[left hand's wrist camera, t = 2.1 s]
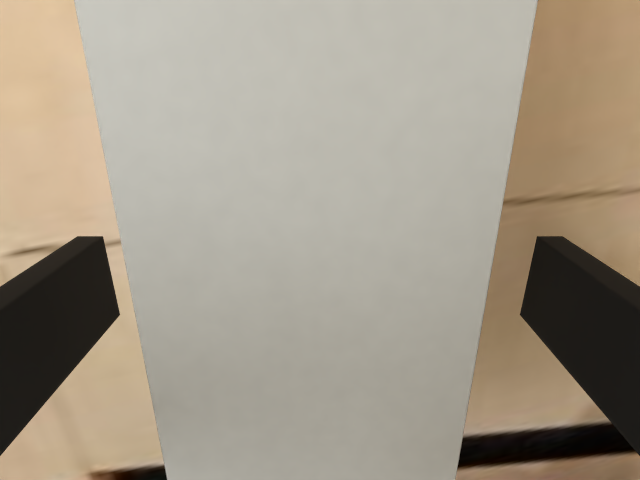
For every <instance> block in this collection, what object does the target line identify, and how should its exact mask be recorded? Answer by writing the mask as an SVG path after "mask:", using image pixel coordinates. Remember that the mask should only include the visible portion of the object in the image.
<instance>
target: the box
mask: <svg viewBox="0 0 640 480" xmlns="http://www.w3.org/2000/svg"><path fill="white" fill-rule="evenodd" d="M74 2H75V7H76V12H77V17H78V23H79V28H80V33H81V38H82V43H83V48H84V53H85V59H86V64H87V69H88V74H89V79H90V84H91V89H92V95H93V100H94V105H95V110H96V115H97V120H98V125H99V131H100V136H101V141H102V146H103V151H104V156H105V161H106V167H107V172H108V177H109V182H110V187H111V192H112V197H113V203H114V208H115V213H116V218H117V223H118V228H119V233H120V239H121V244H122V249H123V254H124V259H125V264H126V269H127V275H128V280H129V285H130V290H131V295H132V300H133V305H134V311H135V316H136V321H137V326H138V331H139V336H140V341H141V347H142V352H143V357H144V362H145V367H146V372H147V377H148V383H149V388H150V393H151V398H152V403H153V408H154V413H155V418H156V424H157V429H158V434H159V439H160V444H161V449H162V454H163V460H164V465H165V470H166V475H167V480H455V478H456V473H457V467H458V461H459V455H460V449H461V444H462V438H463V432H464V426H465V420H466V415H467V409H468V403H469V397H470V391H471V386H472V380H473V374H474V368H475V362H476V357H477V351H478V345H479V339H480V333H481V328H482V322H483V316H484V310H485V304H486V299H487V293H488V287H489V281H490V275H491V270H492V264H493V258H494V252H495V246H496V241H497V235H498V229H499V223H500V217H501V212H502V206H503V200H504V194H505V188H506V183H507V177H508V171H509V165H510V159H511V154H512V148H513V142H514V136H515V130H516V124H517V119H518V113H519V107H520V101H521V95H522V90H523V84H524V78H525V72H526V66H527V61H528V55H529V49H530V43H531V37H532V32H533V26H534V20H535V14H536V8H537V3H538V0H74Z"/></svg>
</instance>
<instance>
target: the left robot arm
mask: <svg viewBox="0 0 640 480" xmlns="http://www.w3.org/2000/svg"><path fill="white" fill-rule="evenodd" d="M119 315H120V313H119V308H118V304H117V299H116V294H115V290H114V285H113V281H112V276H111V271H110V267H109V262H108V258H107V253H106V248H105V244H104V239H103V236H78V237H76V238H74V239H73V240H71V241H70V242H68V243H67V244H65V245H64V246H62V247H61V248H59V249H58V250H56V251H54V252H53V253H51V254H50V255H48V256H47V257H45V258H44V259H42V260H41V261H39V262H38V263H36V264H34V265H33V266H31V267H30V268H28V269H27V270H25V271H24V272H22V273H21V274H19V275H18V276H16V277H14V278H13V279H11V280H10V281H8V282H7V283H5V284H4V285H2V286H1V287H0V456H1V454H2V453H3V452H4V451H5V450H6V448H7V447H8V446H9V445H10V444H11V443H12V441H13V440H14V439H15V438H16V437H17V435H18V434H19V433H20V432H21V431H22V430H23V428H24V427H25V426H26V425H27V424H28V423H29V421H30V420H31V419H32V418H33V417H34V415H35V414H36V413H37V412H38V411H39V410H40V408H41V407H42V406H43V405H44V404H45V402H46V401H47V400H48V399H49V398H50V397H51V395H52V394H53V393H54V392H55V391H56V389H57V388H58V387H59V386H60V385H61V384H62V382H63V381H64V380H65V379H66V378H67V377H68V375H69V374H70V373H71V372H72V371H73V369H74V368H75V367H76V366H77V365H78V364H79V362H80V361H81V360H82V359H83V358H84V356H85V355H86V354H87V353H88V352H89V351H90V349H91V348H92V347H93V346H94V345H95V344H96V342H97V341H98V340H99V339H100V338H101V336H102V335H103V334H104V333H105V332H106V331H107V329H108V328H109V327H110V326H111V325H112V323H113V322H114V321H115V320H116V319H117V318H118V316H119ZM520 315H521V316H522V318H523V319H524V320H525V321H526V322H527V323H528V325H529V326H530V327H531V328H532V329H533V331H534V332H535V333H536V334H537V335H538V336H539V338H540V339H541V340H542V341H543V342H544V344H545V345H546V346H547V347H548V348H549V349H550V351H551V352H552V353H553V354H554V355H555V356H556V358H557V359H558V360H559V361H560V362H561V364H562V365H563V366H564V367H565V368H566V369H567V371H568V372H569V373H570V374H571V375H572V377H573V378H574V379H575V380H576V381H577V382H578V384H579V385H580V386H581V387H582V388H583V390H584V391H585V392H586V393H587V394H588V395H589V397H590V398H591V399H592V400H593V401H594V402H595V404H596V405H597V406H598V407H599V408H600V410H601V411H602V412H603V413H604V414H605V415H606V417H607V418H608V419H609V420H610V421H611V423H612V424H613V425H614V426H615V427H616V428H617V430H618V431H619V432H620V433H621V434H622V435H623V437H624V438H625V439H626V440H627V441H628V443H629V444H630V445H631V446H632V447H633V448H634V450H635V451H636V452H637V453H638V454H639V456H640V287H639V286H638V285H636V284H635V283H633V282H632V281H630V280H629V279H627V278H626V277H624V276H622V275H621V274H619V273H618V272H616V271H615V270H613V269H612V268H610V267H609V266H607V265H606V264H604V263H602V262H601V261H599V260H598V259H596V258H595V257H593V256H592V255H590V254H589V253H587V252H586V251H584V250H582V249H581V248H579V247H578V246H576V245H575V244H573V243H572V242H570V241H569V240H567V239H566V238H564V237H562V236H537V239H536V244H535V248H534V253H533V258H532V262H531V267H530V271H529V276H528V281H527V285H526V290H525V294H524V299H523V304H522V308H521V313H520Z"/></svg>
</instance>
